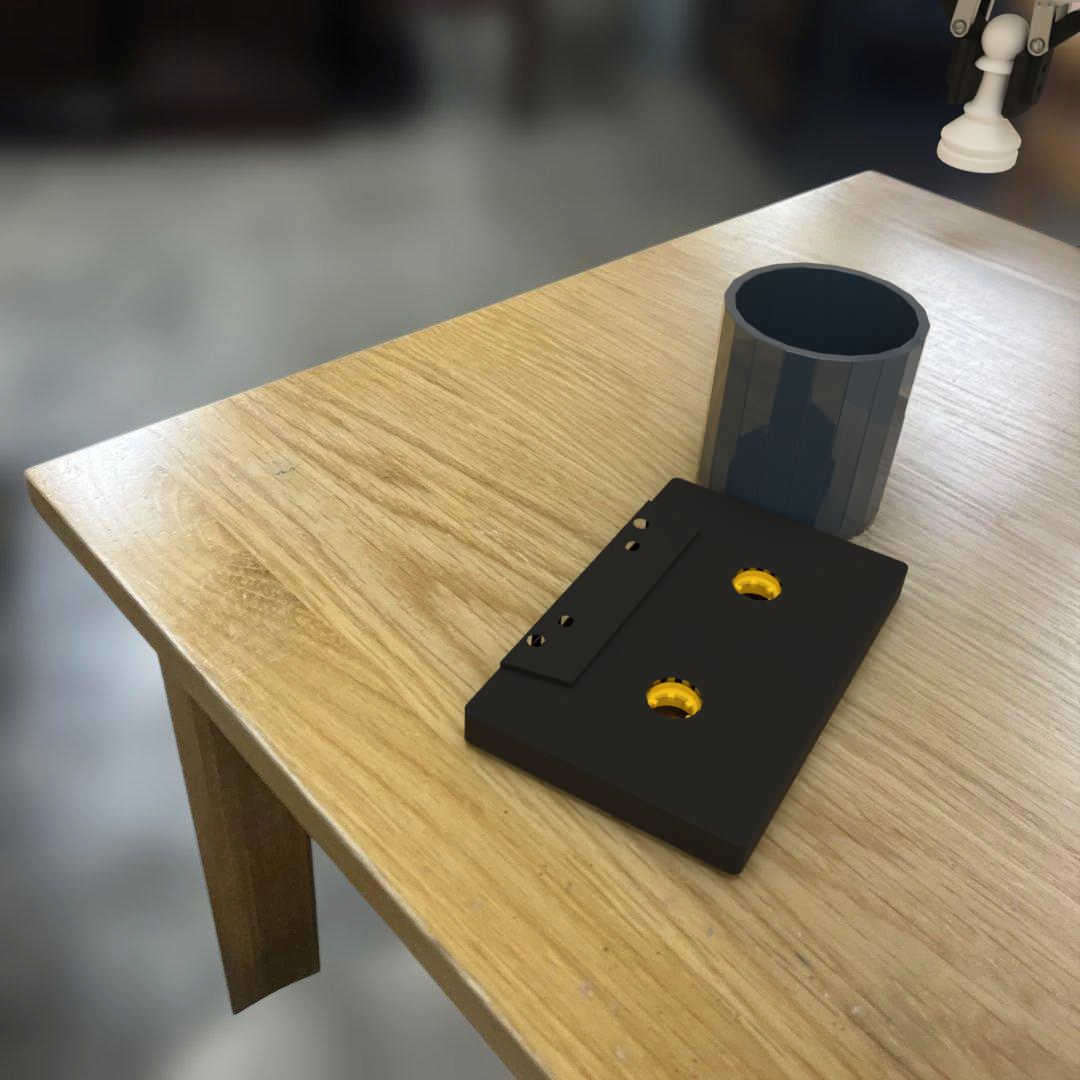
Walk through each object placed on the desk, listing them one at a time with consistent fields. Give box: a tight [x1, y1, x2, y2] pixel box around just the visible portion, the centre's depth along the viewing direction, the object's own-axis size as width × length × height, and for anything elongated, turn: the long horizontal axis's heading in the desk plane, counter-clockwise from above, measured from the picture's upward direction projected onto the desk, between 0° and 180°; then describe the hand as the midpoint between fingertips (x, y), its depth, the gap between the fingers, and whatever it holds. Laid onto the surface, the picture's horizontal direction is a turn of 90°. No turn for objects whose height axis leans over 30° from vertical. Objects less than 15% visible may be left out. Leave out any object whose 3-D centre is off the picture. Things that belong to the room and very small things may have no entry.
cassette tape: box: [463, 477, 909, 876], centre depth 50 cm, size 18×12×2 cm, turn 149°
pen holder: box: [695, 261, 931, 541], centre depth 58 cm, size 9×9×10 cm
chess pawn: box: [936, 13, 1030, 174], centre depth 77 cm, size 5×5×9 cm
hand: (989, 103), depth 78 cm, fingers closed on chess pawn, 3 cm apart
